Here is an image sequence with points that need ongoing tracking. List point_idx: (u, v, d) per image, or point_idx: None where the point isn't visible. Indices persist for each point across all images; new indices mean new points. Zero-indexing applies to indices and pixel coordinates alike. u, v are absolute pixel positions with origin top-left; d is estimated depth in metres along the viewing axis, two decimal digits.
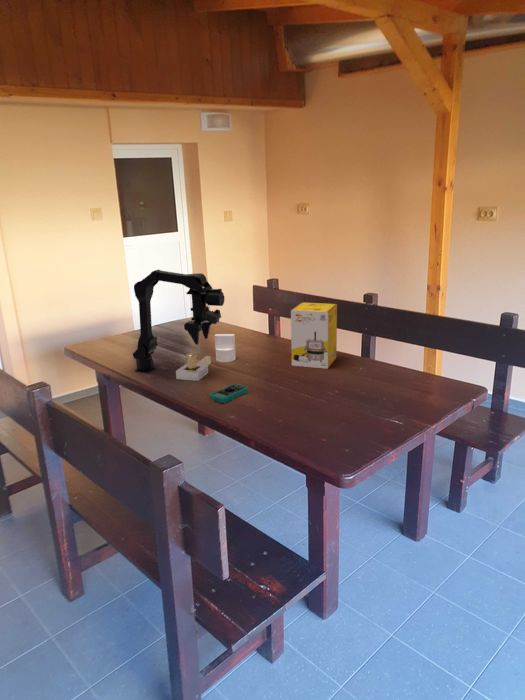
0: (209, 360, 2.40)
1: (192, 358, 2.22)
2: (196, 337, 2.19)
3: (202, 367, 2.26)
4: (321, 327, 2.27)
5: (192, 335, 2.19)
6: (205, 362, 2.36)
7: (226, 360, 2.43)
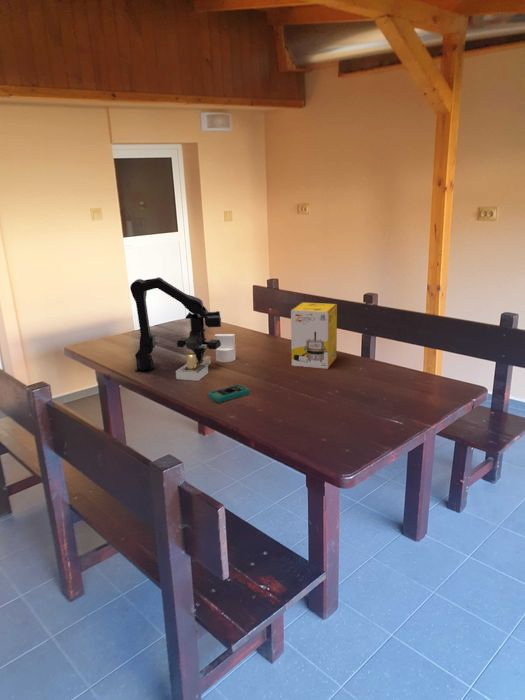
0: (209, 360, 2.40)
1: (192, 358, 2.22)
2: None
3: (202, 367, 2.26)
4: (321, 327, 2.27)
5: None
6: (205, 362, 2.36)
7: (226, 360, 2.43)
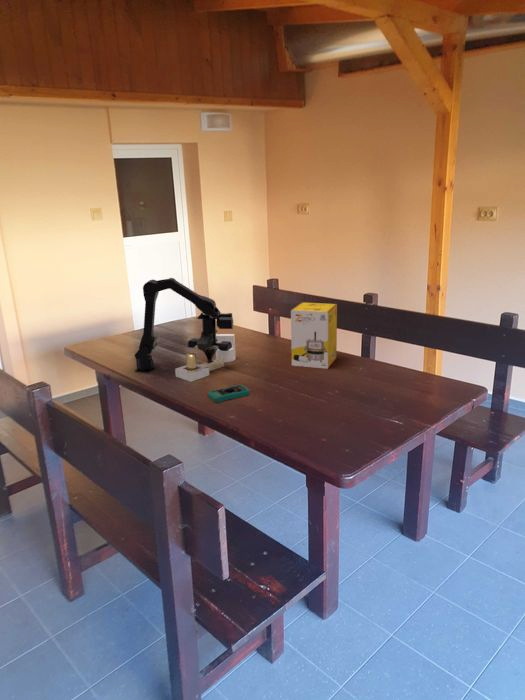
0: (221, 362, 2.36)
1: (192, 358, 2.22)
2: None
3: (201, 368, 2.24)
4: (321, 327, 2.27)
5: None
6: (214, 364, 2.33)
7: (226, 360, 2.43)
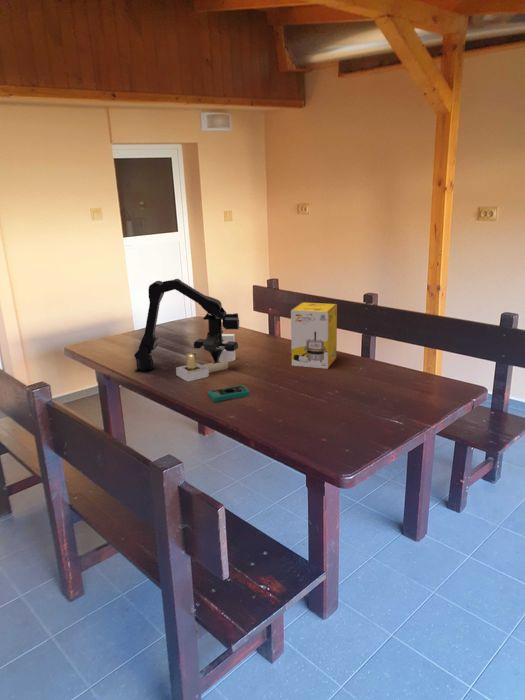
0: (225, 364, 2.33)
1: (192, 358, 2.22)
2: None
3: (200, 369, 2.23)
4: (321, 327, 2.27)
5: None
6: (216, 365, 2.31)
7: None
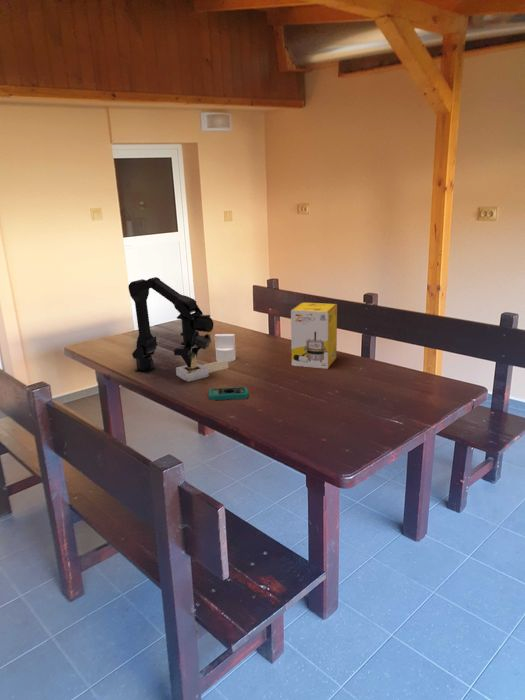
0: (225, 364, 2.33)
1: (192, 358, 2.22)
2: (189, 360, 2.21)
3: (200, 369, 2.23)
4: (321, 327, 2.27)
5: (185, 358, 2.21)
6: (216, 365, 2.31)
7: None
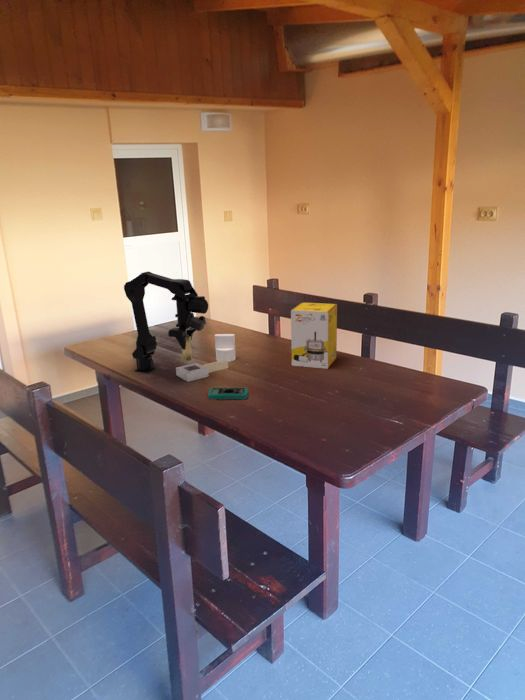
0: (225, 364, 2.33)
1: (186, 340, 2.21)
2: (183, 342, 2.19)
3: (200, 369, 2.23)
4: (321, 327, 2.27)
5: (179, 340, 2.20)
6: (216, 365, 2.31)
7: None
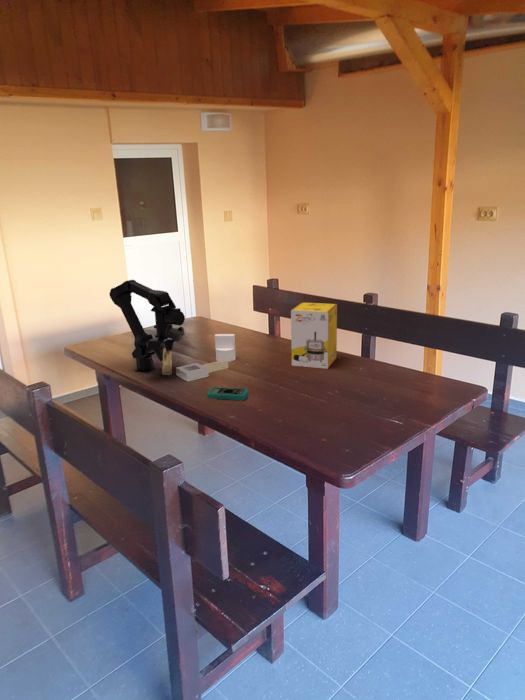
0: (225, 364, 2.33)
1: (167, 355, 2.26)
2: (160, 354, 2.23)
3: (200, 369, 2.23)
4: (321, 327, 2.27)
5: (156, 352, 2.23)
6: (216, 365, 2.31)
7: None
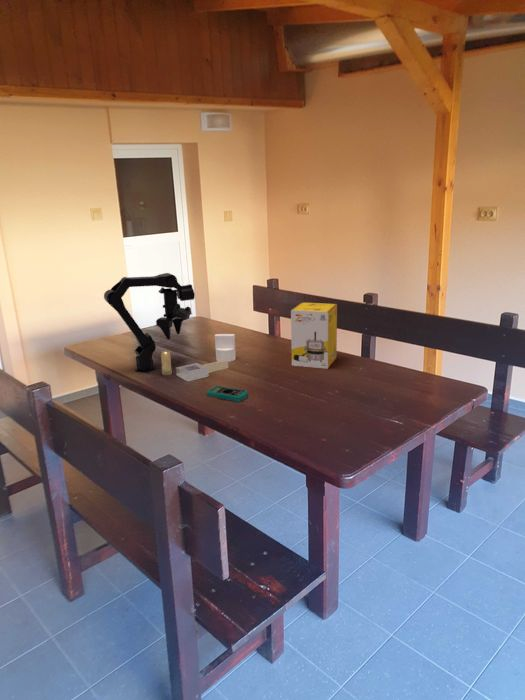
0: (225, 364, 2.33)
1: (166, 355, 2.26)
2: (168, 332, 2.34)
3: (200, 369, 2.23)
4: (321, 327, 2.27)
5: (164, 330, 2.34)
6: (216, 365, 2.31)
7: None
